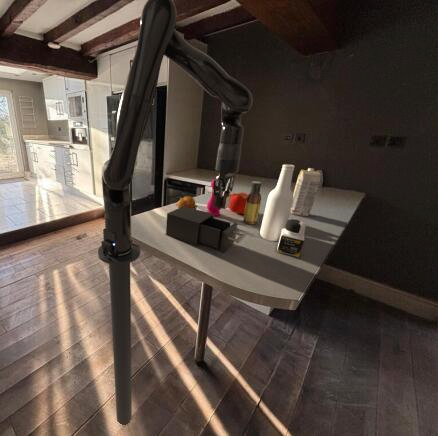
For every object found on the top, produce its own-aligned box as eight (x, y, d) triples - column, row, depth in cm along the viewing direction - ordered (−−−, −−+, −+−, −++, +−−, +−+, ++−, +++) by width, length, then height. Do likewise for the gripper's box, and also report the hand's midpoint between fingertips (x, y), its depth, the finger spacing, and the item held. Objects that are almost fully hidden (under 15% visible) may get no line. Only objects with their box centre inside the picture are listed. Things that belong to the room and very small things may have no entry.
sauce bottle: (251, 219, 115) (259, 180, 108) (259, 224, 110) (268, 183, 102) (239, 220, 114) (247, 180, 106) (247, 225, 108) (255, 183, 101)
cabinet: (211, 235, 98) (214, 214, 94) (196, 245, 89) (199, 223, 85) (181, 225, 107) (183, 205, 103) (165, 234, 98) (167, 213, 94)
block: (224, 209, 82) (226, 197, 80) (213, 206, 84) (214, 194, 82) (229, 206, 85) (231, 194, 83) (218, 203, 87) (219, 192, 86)
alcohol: (255, 234, 99) (270, 164, 88) (267, 230, 103) (284, 162, 92) (274, 243, 92) (293, 167, 81) (287, 238, 96) (307, 166, 85)
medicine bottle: (276, 251, 86) (284, 222, 82) (278, 244, 92) (285, 216, 87) (299, 257, 83) (308, 227, 78) (299, 249, 88) (308, 220, 84)
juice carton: (308, 212, 126) (321, 168, 117) (309, 217, 119) (324, 171, 110) (288, 209, 130) (300, 166, 121) (289, 214, 123) (301, 169, 114)
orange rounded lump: (201, 212, 123) (201, 195, 118) (190, 222, 117) (189, 205, 111) (185, 207, 129) (184, 191, 124) (174, 216, 123) (172, 200, 117)
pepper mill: (217, 217, 116) (223, 178, 109) (204, 214, 120) (208, 176, 112) (221, 213, 122) (227, 175, 115) (208, 210, 126) (213, 174, 118)
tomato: (235, 205, 135) (238, 188, 131) (260, 214, 122) (264, 196, 118) (218, 209, 128) (220, 192, 124) (243, 219, 115) (246, 200, 111)
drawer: (245, 244, 89) (249, 226, 86) (234, 256, 81) (238, 236, 78) (203, 231, 99) (205, 214, 96) (190, 240, 91) (191, 222, 88)
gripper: (226, 154, 85) (219, 198, 92) (208, 158, 75) (202, 207, 81) (247, 156, 81) (238, 203, 87) (231, 160, 70) (223, 213, 77)
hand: (221, 205), depth 84 cm, fingers closed on block, 4 cm apart
